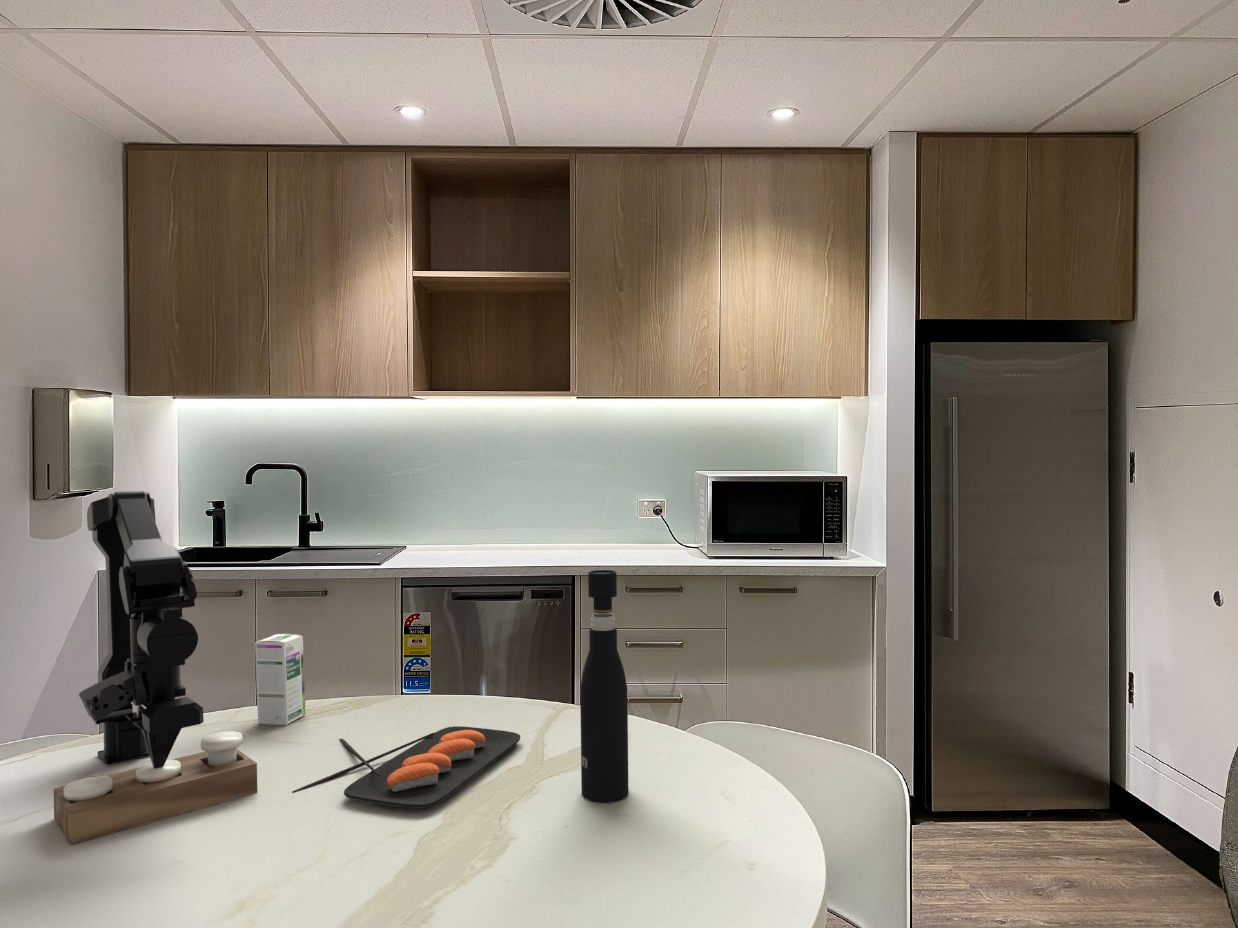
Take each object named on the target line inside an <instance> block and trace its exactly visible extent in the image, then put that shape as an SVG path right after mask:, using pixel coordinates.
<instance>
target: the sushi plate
mask: <svg viewBox="0 0 1238 928" xmlns="http://www.w3.org/2000/svg"><path fill="white" fill-rule="evenodd" d="M338 740H339V742H340V743H341V745H343V747H344V748H345V750H347V751H348V752H350V754H352V755H353V756H354V757H356V758H357V759H358V760H360V762H359V763H357V764H355V765H353V766H350V767H347V768H346V769H342V770H340V771H338V772H335V773H332V774H331V775H328V776H326V777H324V778H323V777H322V778H320V779H318V780H316V781H313V782H311V783H309V784H306V785H304V786H301V787H299V788H297V789H295V790H293V791H292V790H291V793H292V794H295V793H297V792H301V791H303V790H306V789H309V788H312V787H315V786H318V785H321V784H323V783H324V784H325V783H327V782H330V781H332V780H334V779H337V778H339V777H341V776H344V775H346V774H348V773H351V772H353V771H354V770H357V769H359V768H361V767H363V766H366V767H367V768H368V769H370V771H369V772H368V773H366V774H364V775H362V776H361V777H360V778H358V779H356V780H355V781H353V782H352V783H350V784H349V785H348V786H347V787H346V788H345V789H344V790H343V795H344V796H345V797H347V799H351V800H355V801H360V802H365V803H372V804H378V805H379V804H380V805H385V806H393V807H400V808H408V809H409V808H410V809H423V808H424V809H425V808H429V807H433V806H434V805H437V804H439V803H441V802H442V801H444V800H445V799H447V798H448V797H449V796H451V795H452V794H454V793H455V792H456V791H457V790H459V789H460V788H461V787H463V786H464V785H465V784H467V783H468V782H469V781H471V780H472V779H473V778H474V777H476V776H477V775H478V774H479V773H481V772H482V771H483V770H485V769H487V768H488V767H489V766H490V765H491V764H493V763H494V762H495V761H497V760H498V759H499V758H501V757H502V756H503V755H505V754H506V753H507V752H508V751H510V750H511V749H512V748H513V747H514V746H516V745H517V744H518V743H519V742H520V740H521V735H520V733H518V732H513V731H507V730H501V729H500V730H499V729H490V728H483V727H473V726H459V725H458V726H456V725H455V726H454V725H453V726H447V727H445V728H442V729H439V730H437V731H436V732H432V733H429V734H427V735H424V736H422V737H419V738H417V739H415V740H412V741H409V742H407V743H406V744H402V745H400V746H398V747H396V748H393V749H391V750H388V751H386V752H384V753H381V754H379V755H376V756H374V757H372V758H369V759H367V760H365V759H364V758H363V756H361V755H360V754H359V753H358V752H357V751H356V750H355V749H354V748H353V747H352V746H351V745H350V744H349V743H348V742H347V741H346V740H345V739H344V738H338ZM413 744H414V745H413ZM411 745H412V746H411ZM408 746H409V747H408ZM410 746H411V747H410ZM407 747H408V748H407ZM404 748H407V749H405V750H404V751H402V752H400V753H399V754H397V755H395V756H394V757H392V758H390V759H389V760H388V761H386V762H384V763H382V764H380V765H379V766H378V767H376V768H374V767H373V766H372V765H371V764H370V763H373V762H374V761H376V760H379V759H381V758H384V757H386V756H389V755H390V754H393V753H394V752H395V753H396V752H397V751H400V750H402V749H404Z"/></svg>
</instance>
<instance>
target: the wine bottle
mask: <svg viewBox="0 0 1238 928" xmlns="http://www.w3.org/2000/svg"><path fill="white" fill-rule="evenodd" d="M617 577H618V576H617V571H616V570H611V569H610V570H609V569H597V570H591V571H588V572H587V579H588V580H587V581H588V582H587V583H588V585H587V586H588V587H587V588H588V589H587V591H588V593H587V594H588V597H589V598H593V599H592V601H593V608H592V612H593V613H594V614H591V618H590V621H591V623H590V626H591V628H589V630H588V632H589V633H588V636H589V637H588V638H589V645H588V646H589V648H588V649H589V650H588V653H587V655H586V659H585V662H584V665H583V669H582V672H581V673H582V674H581V680H580V687H579V692H580V693H579V696H580V700H579V701H580V702H579V703H580V705H579V706H580V707H579V708H580V711H579V712H580V767H581V769H580V773H581V774H580V775H581V776H580V778H581V783H580V785H581V796H582V797H583V798H584V799H586V800H588V801H590V802H593V803H602V804H606V803H607V804H608V803H613V802H614V803H615V802H618V801H621V800H624V799H625V798H627V796H628V795H629V792H630V791H629V723H628V720H629V717H628V712H629V711H628V705H629V704H628V683H627V678H626V674H625V673H626V672H625V669H624V665H623V662H622V659H621V656H620V653H619V651H618V630H617V628H616V627H615V626H616V622H615V621H616V618H615V614H613V613H611V612H613V610H614V609H613V599H612V598H616V597H617V595H618V593H617V591H618V590H617V588H618V585H617V584H618V583H617V581H618V579H617Z"/></svg>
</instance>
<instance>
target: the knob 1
mask: <svg viewBox="0 0 1238 928" xmlns="http://www.w3.org/2000/svg"><path fill="white" fill-rule="evenodd" d="M65 785H66V786H65V787H64V799H66V800H70V801H72V803H75V802H79V801H83V800H87V799H92V798H96V797H99V796H103V795H105V794H106V793H108V792H110V791H111V790H112V788H113V783H112V778H110V777H107V776H105V775H102V776H101V775H98V776H90V777H84V778H80V779H77V780H74V781H72V782H70V783H68V784H65Z"/></svg>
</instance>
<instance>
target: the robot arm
mask: <svg viewBox="0 0 1238 928" xmlns="http://www.w3.org/2000/svg"><path fill="white" fill-rule="evenodd" d="M155 509H156V508H155V499H154V498H152V497H151V495H150V492H146V491H144V490H130V491H129V490H126V491H115V492H113V493H110V494H109V495H108V496H107V497H103V498H100V499H97V500H95V501H92V502H90V504H89V506H88V508H87V510H86V511H87V512H86V523H87V525H86V526H87V529H88V532H91V533H92V534H91V536H92V541H93V543H94V545H95V546H96V547H97V548H98V550H99V551H100V553H102V555H103V556H104V558H105V579H106V585H105V586H106V607H107V608H106V610H107V635H108V636H107V637H108V639H107V641H108V653H107V655H106V657H105V658H104V660H103V662H102V663H101V665H100V667H99V668H98V670H97V683H93V685H91V686H89V687H87V688H85V689H83V690H82V691H79V693H78V696H79V698H80V701H81V702H82V704H83V706H84V708H85V710H86V713H87V715H88V716H89V717H90V718H91V720H92V721H93V722H94V724H95V726H96V725H100V724H103V726H102V727H103V750H99V751H97V757H99V759H100V760H101V761H102V762H103V763H104V764H105V765H106V766H110V765H114V764H118V763H122V762H127V761H131V760H135V759H140V758H144V757H147V756H148V757H149V759H150V763H151V762H152V765H153V767H154V768H155V769H156V768H160V767H163V766H164V764H165V762H166V760H168V757H169V756H170V753H171V751H172V749H173V747H174V745H175V742H176V740H177V738H178V737H179V735H180V732H181V730H182V729H184V728H188V727H194V726H199V725H201V724H203V723H204V707H203V706H201V705H200V704H199V703H197V702H196V701H194V700H192V699H191V698H189V697H188V696H186V691H187V688H186V687H185V686H183V685H182V682H181V681H182V676H181V675H182V674H181V673H182V669H181V666H184V665H186V660H187V659H189V658H190V657H191V656H192V655H193V653H194V652H195V651H196V649H197V645H198V642H199V634H198V632H197V629H196V627H195V626H194V624H193V623H191V622H189V621H188V620H186V619H185V618H184V617H183V609H185V608H186V609H187V608H194V607H195V605H196V603H195V600H197V595H198V592H197V588H196V584H195V580H194V576H193V573H192V569H190V568H189V567H188V566H189V565H188V563H187V562H186V561H183V558H182V556H181V554H180V552H179V551H178V548H176V547H175V546H173V545H170V544H168V543H165V542H164V541H163V539H162V536H161V534H160V532H159V531H160V530H159V528H158V526H157V521H156V510H155ZM181 592H182V594H183V595H181ZM184 696H186V697H184ZM178 697H179V698H178Z"/></svg>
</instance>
